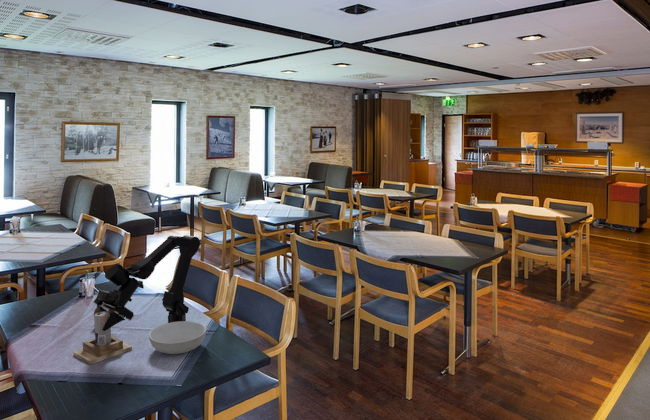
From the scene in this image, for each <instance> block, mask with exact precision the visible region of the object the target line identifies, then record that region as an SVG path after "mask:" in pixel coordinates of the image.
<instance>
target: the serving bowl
mask: <svg viewBox="0 0 650 420" xmlns="http://www.w3.org/2000/svg"><path fill="white" fill-rule="evenodd" d="M206 334H207V327H206V326H205V325H203V324H202V323H200V322H196V321H187V320H186V321H179V322H171V323H168V322H167V323H165V324H161V325H159V326H158V325H157V326H156V327H154V328H153V329H151V331H149V333H148V339H149V342H150V344H151V346H152V347H153V348H154V349H155V350H157V351H158V352H160V353H162V354H168V355H169V354H170V355H176V354H177V355H178V354H185V353H188V352H191V351H192V350H195V349H197V348H198V347H199V346H200V345H201V344H202V343H203V342H204V340H205V338H206V336H207V335H206Z"/></svg>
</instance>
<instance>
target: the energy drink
mask: <svg viewBox="0 0 650 420" xmlns="http://www.w3.org/2000/svg"><path fill="white" fill-rule="evenodd" d="M109 317H110V314H109V312H107V311H101V312H97V313H95V314H94V313H93V321H94V323H93V324H94V325H93V326H94V339H95V342H96V346H97V347H101V346H104V345H107V344H110V343H111V336H112V329H111V328H112V327H111V328H109V329H107V330H106V331H103V330H102V329H103V327H104V325H105V324H106V322H107V320H108V319H109Z"/></svg>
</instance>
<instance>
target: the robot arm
mask: <svg viewBox="0 0 650 420" xmlns="http://www.w3.org/2000/svg"><path fill="white" fill-rule="evenodd" d="M200 245H201V240H200V239H199V237H197V236H194V235H188V234H185V235H183V236H177V235H169V236H168V237H167V238H166V239H165V240H164V241H163V242H162V243H161V244H159V245H158V246H157V248H155V249H154V250H153V251H151V253H150V254H148V255H147V256H146V257H143V258H140V259H139V260H137V261H135V262H134V263H132V264H131V266H129V267H123V266H122V264H120V263H118V262H117V263H115V264H114V265H113V266H111V267H109V268H108V269H107V270H106V271H105V273H104V278H105V279H106V280H108V281H109V282H110V283H112V284H114V285H115V286H116V287H118V288H117V289H113V290H109V291H107V290H102V289H99V291H98V292H97V295H96V298H95V299H94V300H93V303H94V304H95V305H96V308H97V307H98V312H101V311H107V312H108V311H110V312H109V314H110V317H109V319H108V320H107V322H106V324H105V325H104V327H103V329H102V330H103V331H106V330H107V329H109V328H112V327H114V326H116V325H118V324H119V323H121V322H123V321H126V320H129V321H132V319H133V318H134V316H135V315H134V312H133V311H132V310H131V309H129V308H127V307H126V305H127V304H128V303H129V302H132V301H133V299H132V298H131V297H132V296H133V295H134V293H135V292H136V291H137V290H138V288H139V289H144V288H145V287H144V281H143V280H147V279H148V278H150V276H151V275H152V274H153V273H154V271H155V267H156V266H157V265H158V264H159V263H161V261H162V260H163V259H164V258H166V257H167V255H169V254H170V253H171V252H172V251H174V249H176V248H177V247H178V251H179V259H178V262H177V265H176V269H175V273H174V276H173V281H172V283H171V287H170V288H169V289H168V291H166V290H165V291H164V292H163V296H162V298H161V301H162V302H161V303H162V306H163V308H164V309H165V311H166V312H168V314H167V323H171V322H179V321H187V320H186V318H187V317H186V314H188V313H189V309H190V308H189V307H188V306H187V305H186V304H185V296H184V295H185V294H184V287H185V283H186V281H187V277H188V273H189V269H190V267H191V262H192V258H193V257H195V255H196V254H197V253H198V251H199V248H200ZM138 279H139V280H138ZM111 310H113V311H115V312H113V311H111Z"/></svg>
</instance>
